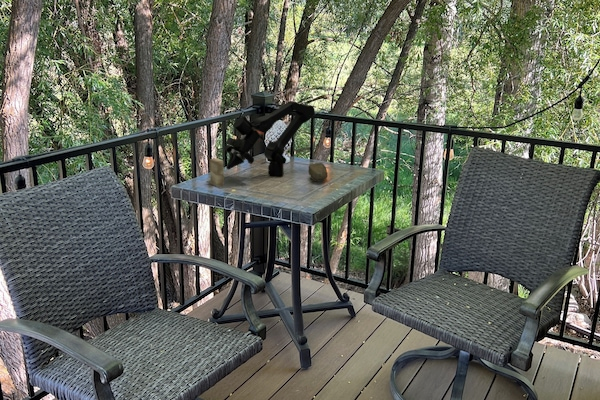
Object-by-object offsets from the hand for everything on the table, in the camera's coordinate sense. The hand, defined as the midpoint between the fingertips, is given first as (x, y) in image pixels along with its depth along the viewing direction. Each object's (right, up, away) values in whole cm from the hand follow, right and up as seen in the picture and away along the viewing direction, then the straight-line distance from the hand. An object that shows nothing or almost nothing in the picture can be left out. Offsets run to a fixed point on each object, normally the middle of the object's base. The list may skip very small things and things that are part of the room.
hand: (227, 168), depth 258 cm
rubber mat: (-1, -7, +1) cm, 7 cm away
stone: (+41, -5, +9) cm, 42 cm away
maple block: (-4, -7, -1) cm, 8 cm away
